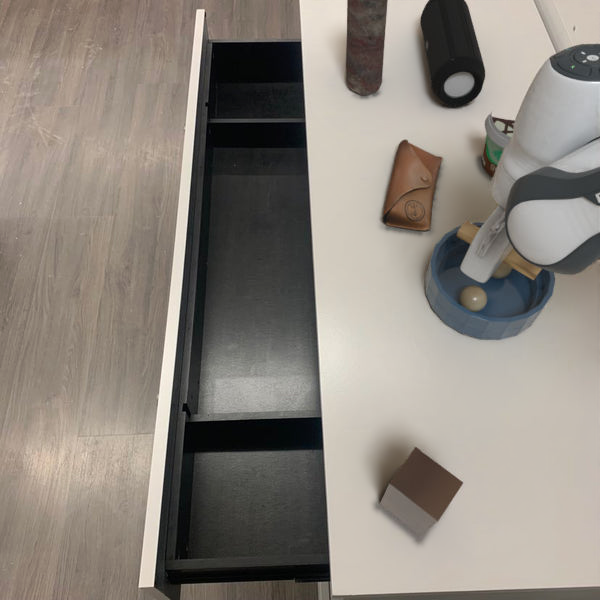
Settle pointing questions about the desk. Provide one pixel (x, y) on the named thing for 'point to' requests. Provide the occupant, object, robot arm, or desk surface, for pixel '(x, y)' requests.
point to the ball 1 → (473, 298)
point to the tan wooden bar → (512, 259)
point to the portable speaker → (452, 52)
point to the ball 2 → (502, 271)
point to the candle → (365, 44)
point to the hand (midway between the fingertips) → (499, 251)
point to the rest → (420, 492)
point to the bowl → (500, 294)
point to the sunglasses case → (411, 188)
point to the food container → (495, 141)
